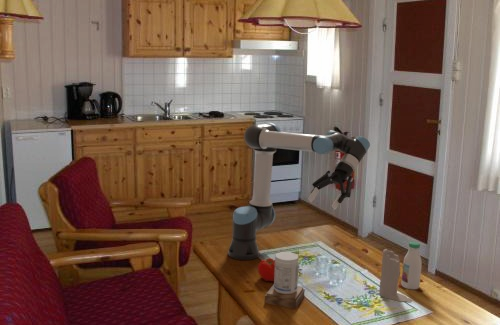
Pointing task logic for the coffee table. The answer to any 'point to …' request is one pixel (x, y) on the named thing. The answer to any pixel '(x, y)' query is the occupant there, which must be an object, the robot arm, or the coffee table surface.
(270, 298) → the plinth
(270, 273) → the tomato
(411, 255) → the milk bottle
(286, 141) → the robot arm
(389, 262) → the beige bookend
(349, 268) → the coffee table surface
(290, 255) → the supplement tub
